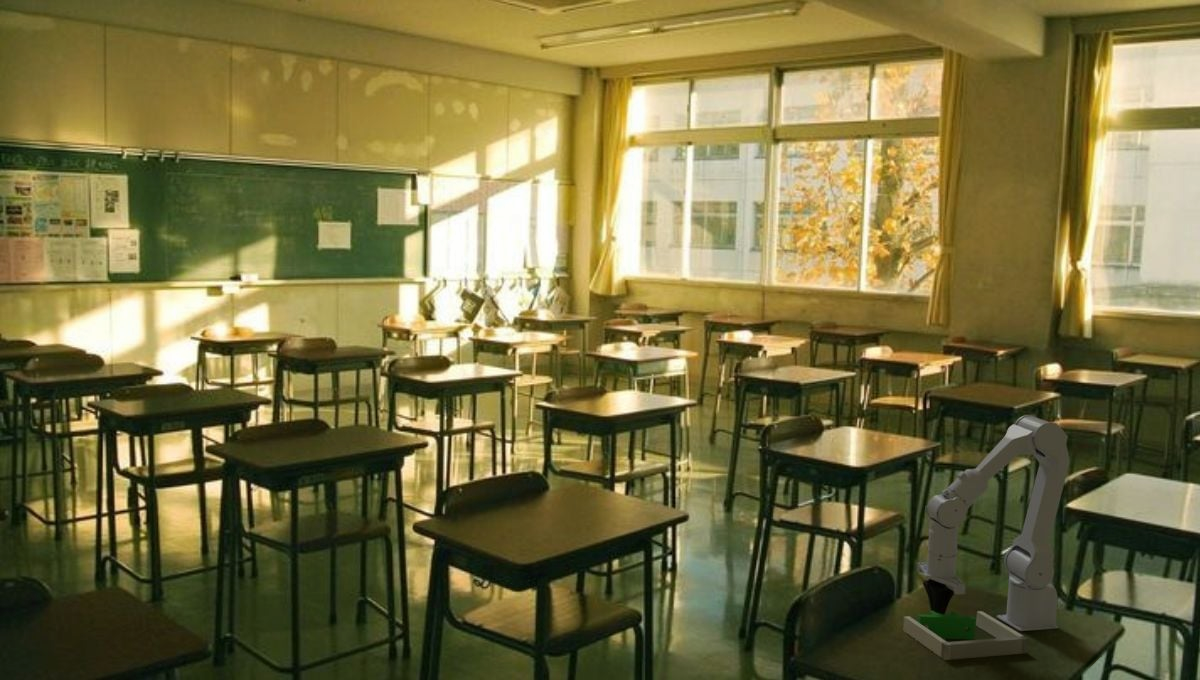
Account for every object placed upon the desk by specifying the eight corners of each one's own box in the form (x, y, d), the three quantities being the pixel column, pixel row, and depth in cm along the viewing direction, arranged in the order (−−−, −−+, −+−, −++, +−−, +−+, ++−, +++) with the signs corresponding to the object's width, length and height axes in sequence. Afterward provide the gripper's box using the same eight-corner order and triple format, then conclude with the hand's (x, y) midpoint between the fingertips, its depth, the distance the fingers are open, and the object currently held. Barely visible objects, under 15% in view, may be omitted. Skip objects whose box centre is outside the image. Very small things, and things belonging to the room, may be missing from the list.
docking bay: (980, 624, 214) (981, 611, 214) (1026, 653, 200) (1027, 638, 200) (903, 630, 209) (904, 616, 209) (944, 660, 195) (945, 645, 195)
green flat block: (968, 633, 210) (969, 612, 209) (974, 640, 206) (975, 619, 206) (913, 630, 210) (915, 609, 210) (918, 637, 207) (920, 615, 206)
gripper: (906, 543, 218) (902, 604, 220) (945, 565, 204) (941, 630, 206) (935, 541, 220) (931, 602, 221) (976, 563, 206) (971, 628, 207)
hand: (937, 615), depth 214 cm, fingers closed
